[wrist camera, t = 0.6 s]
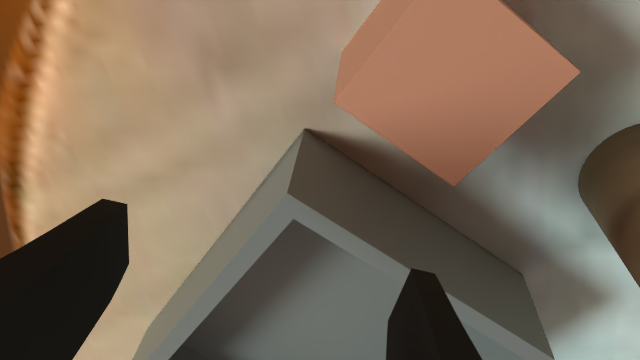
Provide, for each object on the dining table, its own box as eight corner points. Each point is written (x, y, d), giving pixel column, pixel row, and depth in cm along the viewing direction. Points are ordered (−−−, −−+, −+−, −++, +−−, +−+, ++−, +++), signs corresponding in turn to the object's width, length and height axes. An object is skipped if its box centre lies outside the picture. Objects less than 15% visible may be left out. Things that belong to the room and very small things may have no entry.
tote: (522, 274, 24) (554, 359, 20) (324, 414, 32) (317, 493, 28) (304, 128, 20) (287, 193, 16) (148, 327, 29) (110, 403, 25)
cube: (530, 24, 17) (580, 72, 13) (436, 121, 20) (453, 186, 15) (428, -64, 16) (448, -43, 12) (342, 51, 18) (333, 102, 14)
